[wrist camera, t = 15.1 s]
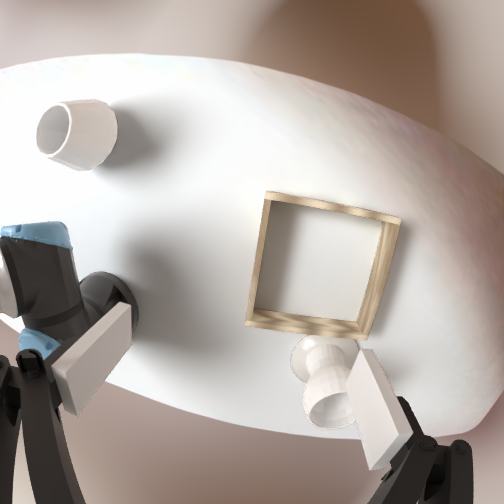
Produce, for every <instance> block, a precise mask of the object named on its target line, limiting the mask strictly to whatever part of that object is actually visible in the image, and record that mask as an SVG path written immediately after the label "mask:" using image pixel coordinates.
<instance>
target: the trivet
mask: <svg viewBox="0 0 504 504" xmlns="http://www.w3.org/2000/svg"><path fill="white" fill-rule="evenodd" d="M324 344H331V345H335V346H337V347H339V348H340V349H341V350H342V352H343V355H344V365H345V366H346V367H347V368H349V369H351V370H352V368H353V365H354V363H355V361H356V359H357V356H358V354H359V349H358V345H357V343H356V341H355V340H354V339H346V338H336V337H326V336H317V335H307V336H306V337H304V338H303V339H302V340H301V341H299V343H298V344H297V345H296V346H295V348H294V350H293V352H292V355H291V367H292V370H293V372H294V374H295V375H296V377H298V378H299V379H300V380H301V381H303V382H305V383H307V382H308V380H309V378H310V373H309V371H308V369H307V366H306V358H307V356H308V354H309V353H310V352H311V350H313V349H314V348H316V347H318V346H320V345H324Z"/></svg>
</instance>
